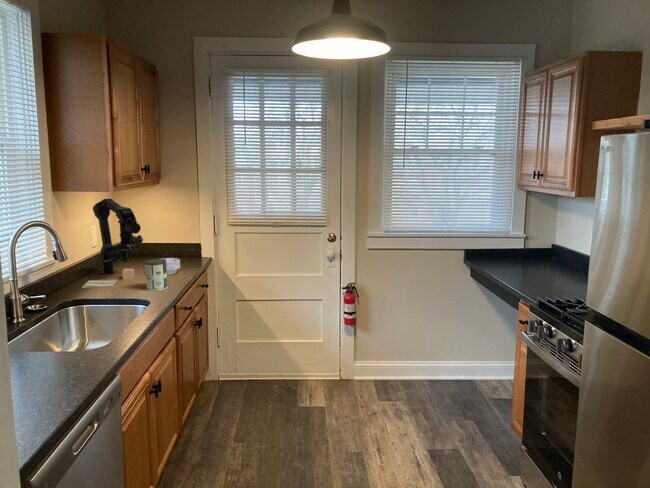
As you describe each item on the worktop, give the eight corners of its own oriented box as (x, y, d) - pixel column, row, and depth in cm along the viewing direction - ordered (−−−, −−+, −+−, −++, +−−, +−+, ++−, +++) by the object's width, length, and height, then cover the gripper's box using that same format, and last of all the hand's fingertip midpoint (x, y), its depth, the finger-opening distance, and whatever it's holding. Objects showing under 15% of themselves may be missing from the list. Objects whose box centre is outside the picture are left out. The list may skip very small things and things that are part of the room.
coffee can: (158, 284, 269) (157, 258, 266) (172, 287, 263) (170, 260, 261) (141, 288, 260) (140, 261, 258) (155, 291, 255) (153, 263, 252)
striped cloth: (89, 281, 274) (89, 280, 274) (117, 280, 277) (117, 279, 277) (82, 288, 261) (81, 286, 261) (111, 287, 263) (111, 285, 263)
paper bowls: (163, 269, 304) (163, 256, 303) (185, 271, 299) (185, 258, 298) (146, 275, 290) (146, 261, 289) (169, 277, 285) (169, 263, 284)
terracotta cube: (124, 277, 285) (124, 268, 284) (134, 277, 285) (133, 268, 285) (123, 279, 280) (122, 270, 279) (132, 279, 281) (132, 270, 280)
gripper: (138, 234, 271) (140, 263, 273) (144, 229, 289) (145, 256, 291) (116, 234, 269) (118, 263, 271) (123, 229, 287) (124, 257, 289)
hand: (127, 260), depth 281 cm, fingers open, 9 cm apart
